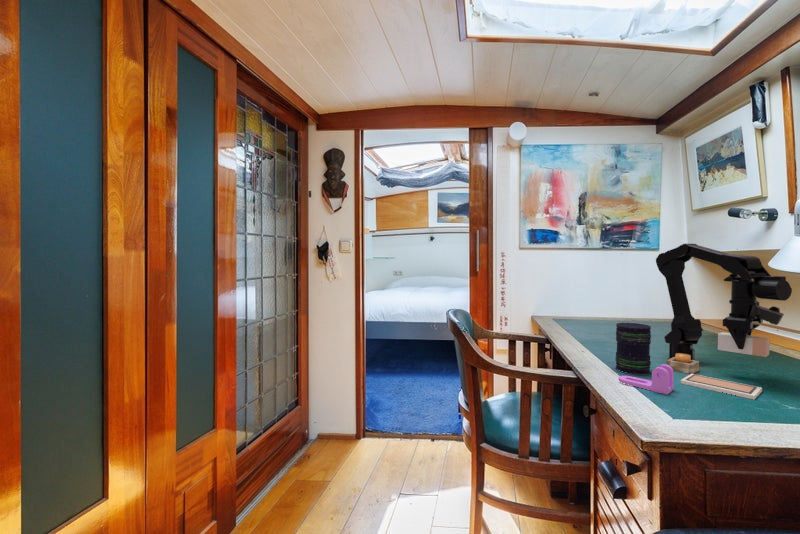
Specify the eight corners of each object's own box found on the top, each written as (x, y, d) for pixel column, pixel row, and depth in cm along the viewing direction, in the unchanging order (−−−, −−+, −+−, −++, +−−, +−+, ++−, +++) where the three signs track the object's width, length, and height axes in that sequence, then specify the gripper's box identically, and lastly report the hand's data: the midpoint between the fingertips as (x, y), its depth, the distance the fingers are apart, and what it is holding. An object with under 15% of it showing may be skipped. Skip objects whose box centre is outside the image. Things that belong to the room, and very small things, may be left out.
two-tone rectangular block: (717, 349, 117) (718, 333, 117) (721, 347, 120) (721, 332, 120) (766, 357, 109) (766, 339, 109) (769, 354, 111) (769, 337, 111)
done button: (673, 363, 124) (673, 354, 124) (677, 361, 126) (677, 352, 126) (688, 366, 121) (688, 357, 121) (692, 364, 123) (692, 355, 123)
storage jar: (644, 377, 116) (645, 329, 116) (610, 370, 124) (611, 325, 123) (654, 370, 123) (655, 325, 123) (621, 364, 130) (622, 321, 130)
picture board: (680, 383, 111) (680, 379, 110) (691, 376, 117) (691, 372, 117) (754, 399, 98) (754, 395, 98) (762, 391, 104) (762, 386, 104)
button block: (666, 369, 124) (666, 360, 124) (673, 365, 129) (673, 356, 129) (692, 374, 119) (692, 365, 119) (699, 370, 123) (699, 361, 123)
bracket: (673, 390, 105) (673, 365, 105) (667, 395, 102) (667, 369, 102) (622, 379, 115) (622, 356, 115) (615, 383, 112) (615, 359, 111)
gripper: (775, 301, 102) (774, 358, 102) (786, 297, 113) (785, 348, 114) (722, 298, 111) (721, 350, 111) (737, 294, 122) (736, 341, 123)
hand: (742, 347), depth 114 cm, fingers closed on two-tone rectangular block, 4 cm apart
